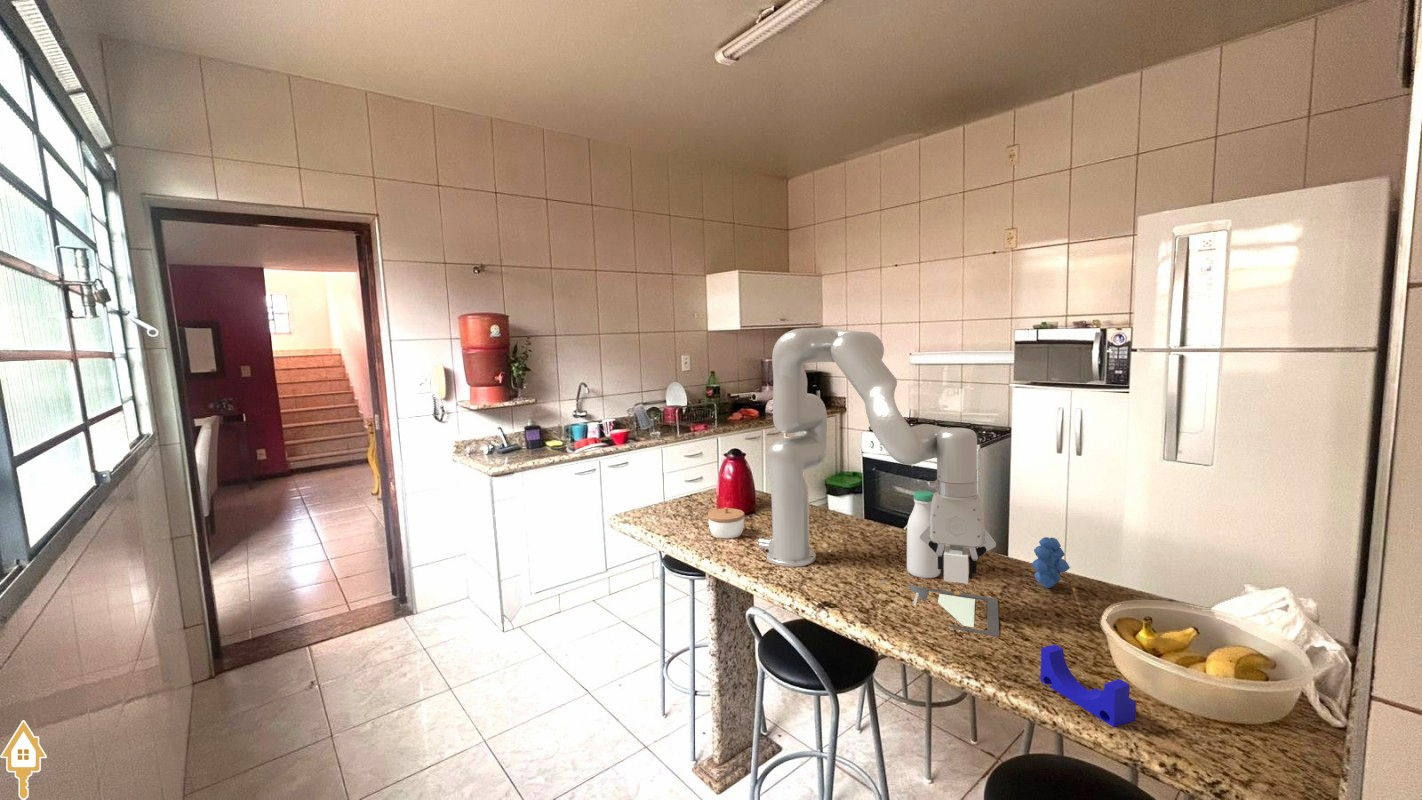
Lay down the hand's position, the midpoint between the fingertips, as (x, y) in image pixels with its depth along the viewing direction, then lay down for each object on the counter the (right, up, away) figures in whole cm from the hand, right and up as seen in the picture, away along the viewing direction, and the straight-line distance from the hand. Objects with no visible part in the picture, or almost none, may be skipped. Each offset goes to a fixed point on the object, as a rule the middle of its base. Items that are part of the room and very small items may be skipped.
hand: (957, 573), depth 117 cm
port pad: (0, -8, +1) cm, 8 cm away
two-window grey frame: (-7, -8, +4) cm, 11 cm away
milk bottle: (+1, -6, +21) cm, 21 cm away
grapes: (+25, -6, +9) cm, 28 cm away
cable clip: (+7, -11, -29) cm, 32 cm away
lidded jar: (-46, -5, +49) cm, 68 cm away
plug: (0, 0, 0) cm, 0 cm away
